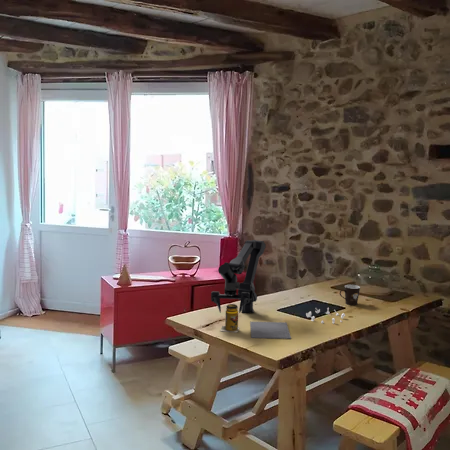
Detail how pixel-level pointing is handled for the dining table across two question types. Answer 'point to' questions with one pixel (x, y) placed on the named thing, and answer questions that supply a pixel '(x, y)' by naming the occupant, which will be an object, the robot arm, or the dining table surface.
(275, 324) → the rubber mat
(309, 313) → the game piece set
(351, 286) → the coffee mug
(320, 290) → the dining table surface
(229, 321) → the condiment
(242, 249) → the robot arm
